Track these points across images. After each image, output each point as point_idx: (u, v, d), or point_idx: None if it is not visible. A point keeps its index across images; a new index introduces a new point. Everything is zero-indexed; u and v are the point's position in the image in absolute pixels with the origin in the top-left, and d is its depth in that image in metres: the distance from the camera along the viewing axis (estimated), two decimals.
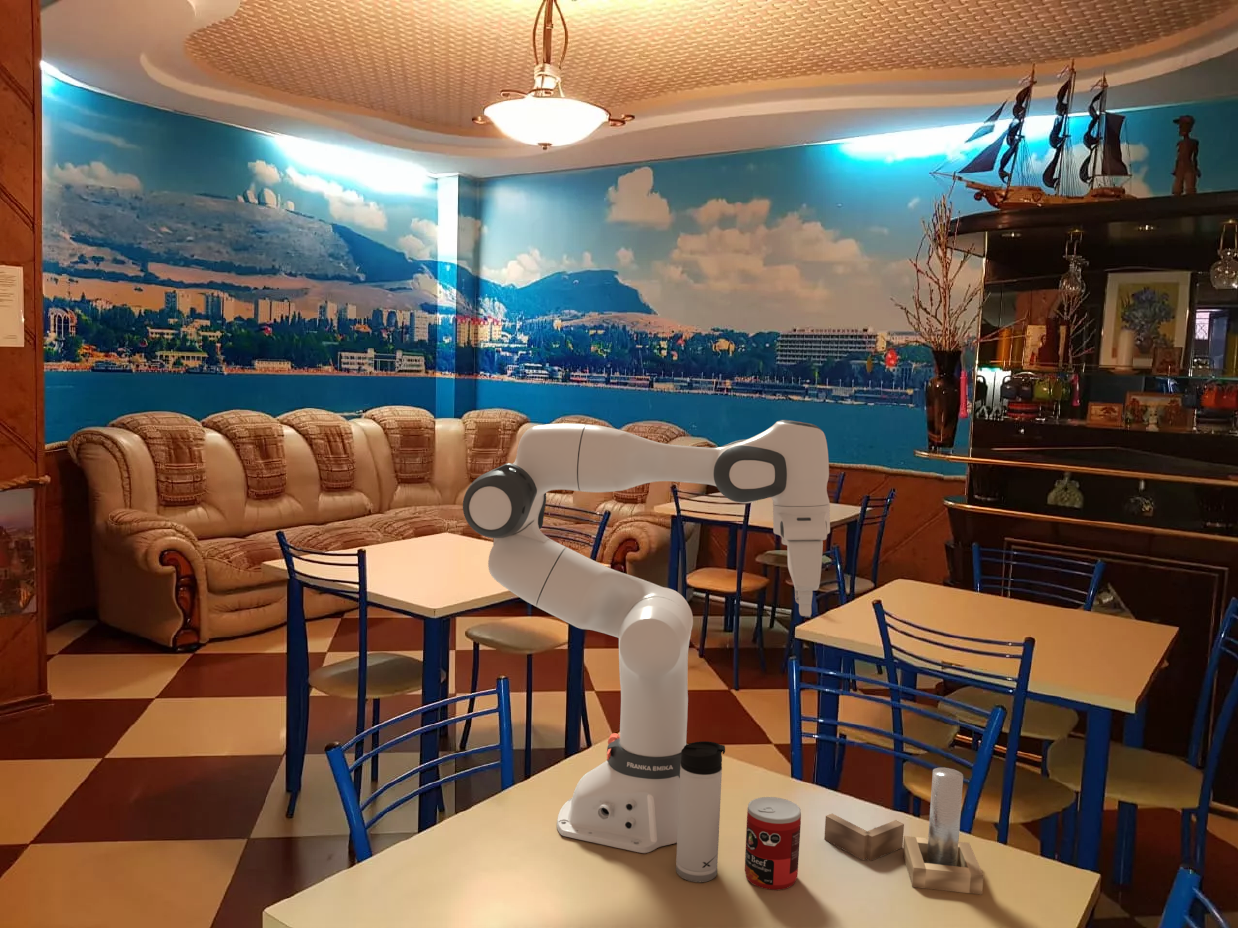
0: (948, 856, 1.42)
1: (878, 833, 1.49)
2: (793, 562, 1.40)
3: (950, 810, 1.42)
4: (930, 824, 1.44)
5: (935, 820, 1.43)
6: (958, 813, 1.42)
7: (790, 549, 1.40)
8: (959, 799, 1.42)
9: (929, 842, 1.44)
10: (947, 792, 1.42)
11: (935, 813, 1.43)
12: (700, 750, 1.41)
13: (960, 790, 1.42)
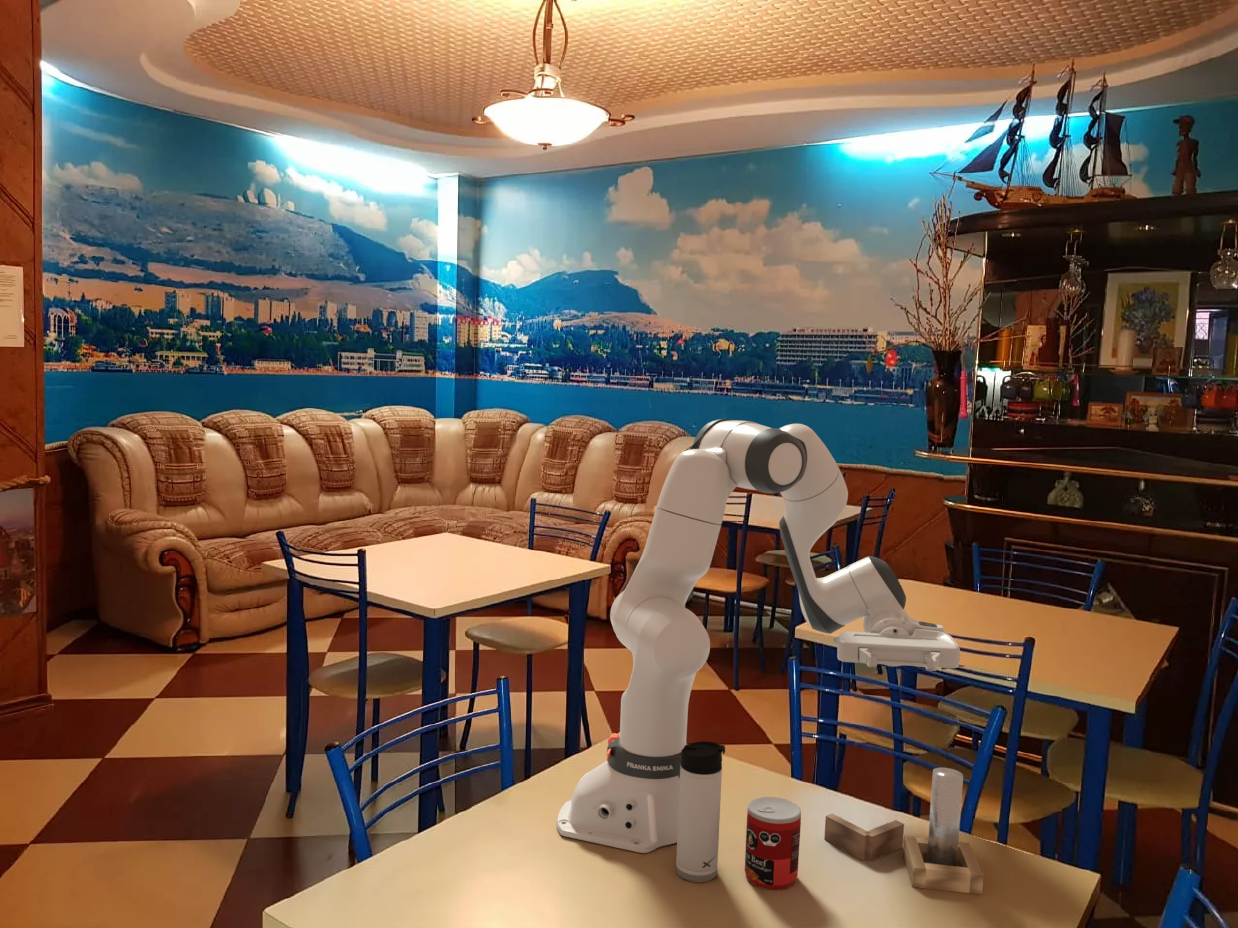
0: (948, 856, 1.42)
1: (878, 833, 1.49)
2: (954, 640, 1.61)
3: (950, 810, 1.42)
4: (930, 824, 1.44)
5: (935, 820, 1.43)
6: (958, 813, 1.42)
7: (949, 635, 1.63)
8: (959, 799, 1.42)
9: (929, 842, 1.44)
10: (947, 792, 1.42)
11: (935, 813, 1.43)
12: (700, 750, 1.41)
13: (960, 790, 1.42)
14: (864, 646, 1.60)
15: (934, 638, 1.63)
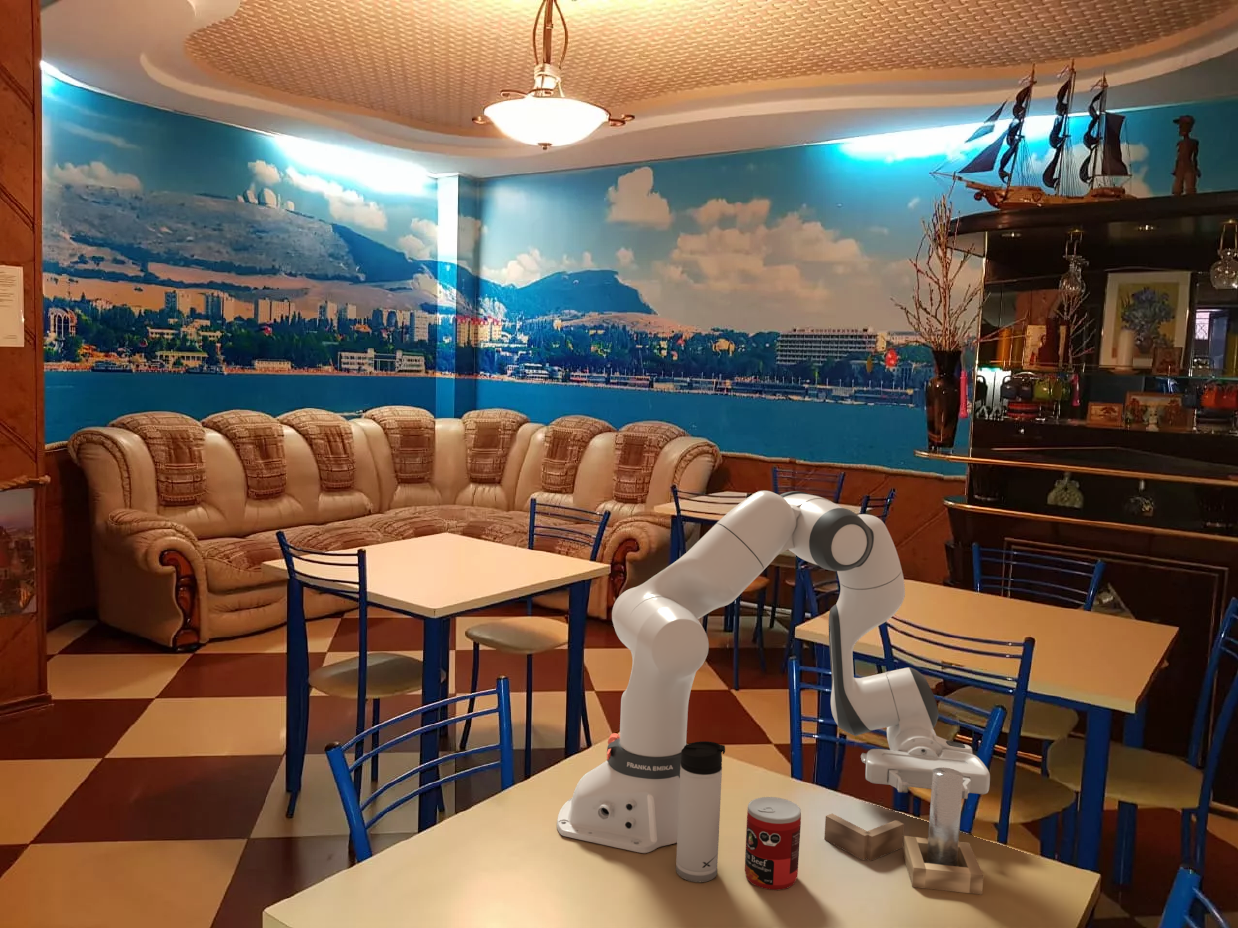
0: (948, 856, 1.42)
1: (878, 833, 1.49)
2: (983, 763, 1.61)
3: (950, 810, 1.42)
4: (930, 824, 1.44)
5: (935, 820, 1.43)
6: (958, 813, 1.42)
7: (977, 757, 1.63)
8: (959, 799, 1.42)
9: (929, 842, 1.44)
10: (947, 792, 1.42)
11: (935, 813, 1.43)
12: (700, 750, 1.41)
13: (960, 790, 1.42)
14: (894, 768, 1.59)
15: (963, 760, 1.62)
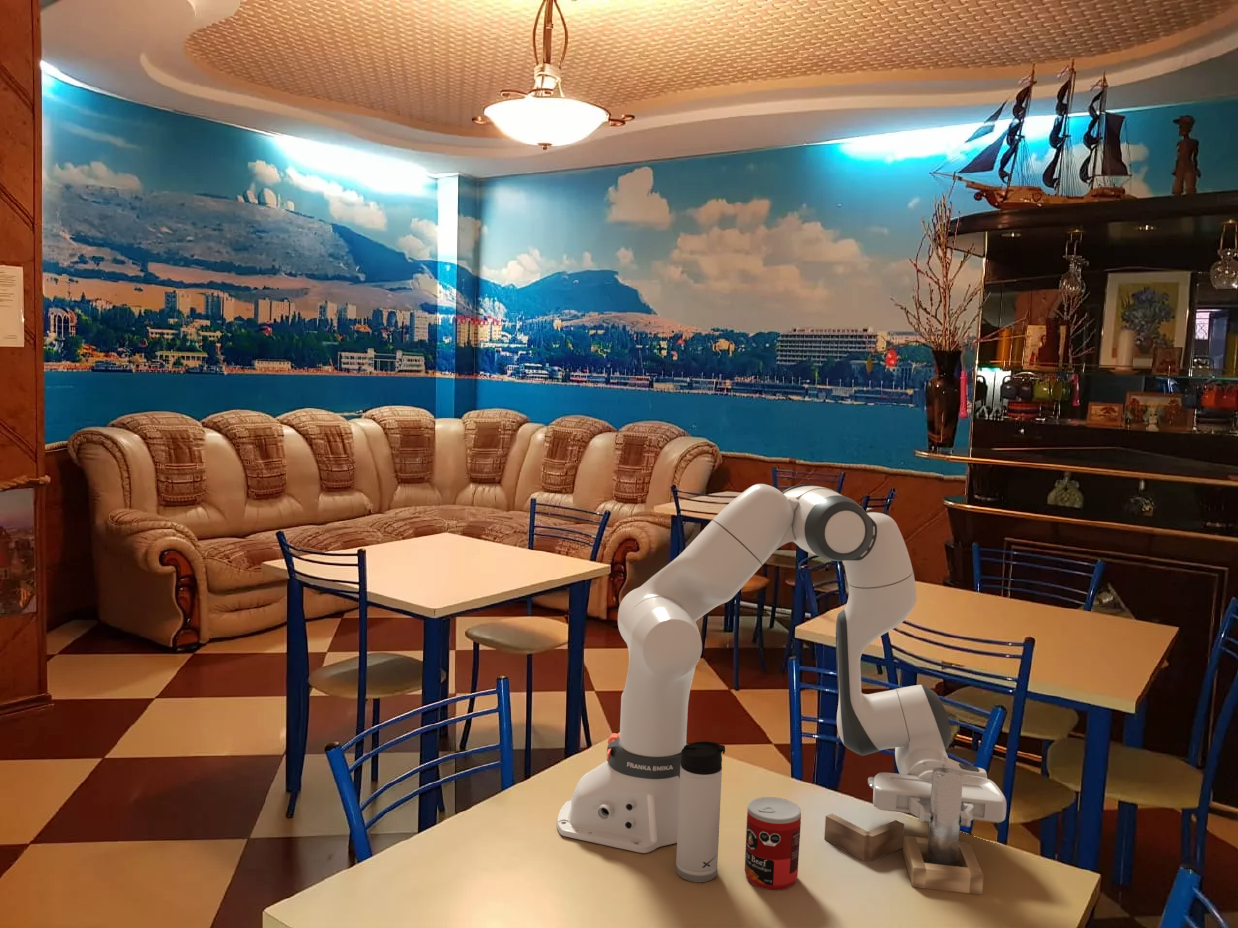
0: (948, 856, 1.42)
1: (878, 833, 1.49)
2: (999, 789, 1.50)
3: (950, 810, 1.42)
4: (930, 824, 1.44)
5: (935, 820, 1.43)
6: (958, 813, 1.42)
7: (992, 781, 1.52)
8: (959, 799, 1.42)
9: (929, 842, 1.44)
10: (947, 792, 1.42)
11: (935, 812, 1.43)
12: (700, 750, 1.41)
13: (960, 790, 1.42)
14: (903, 794, 1.49)
15: (977, 785, 1.52)
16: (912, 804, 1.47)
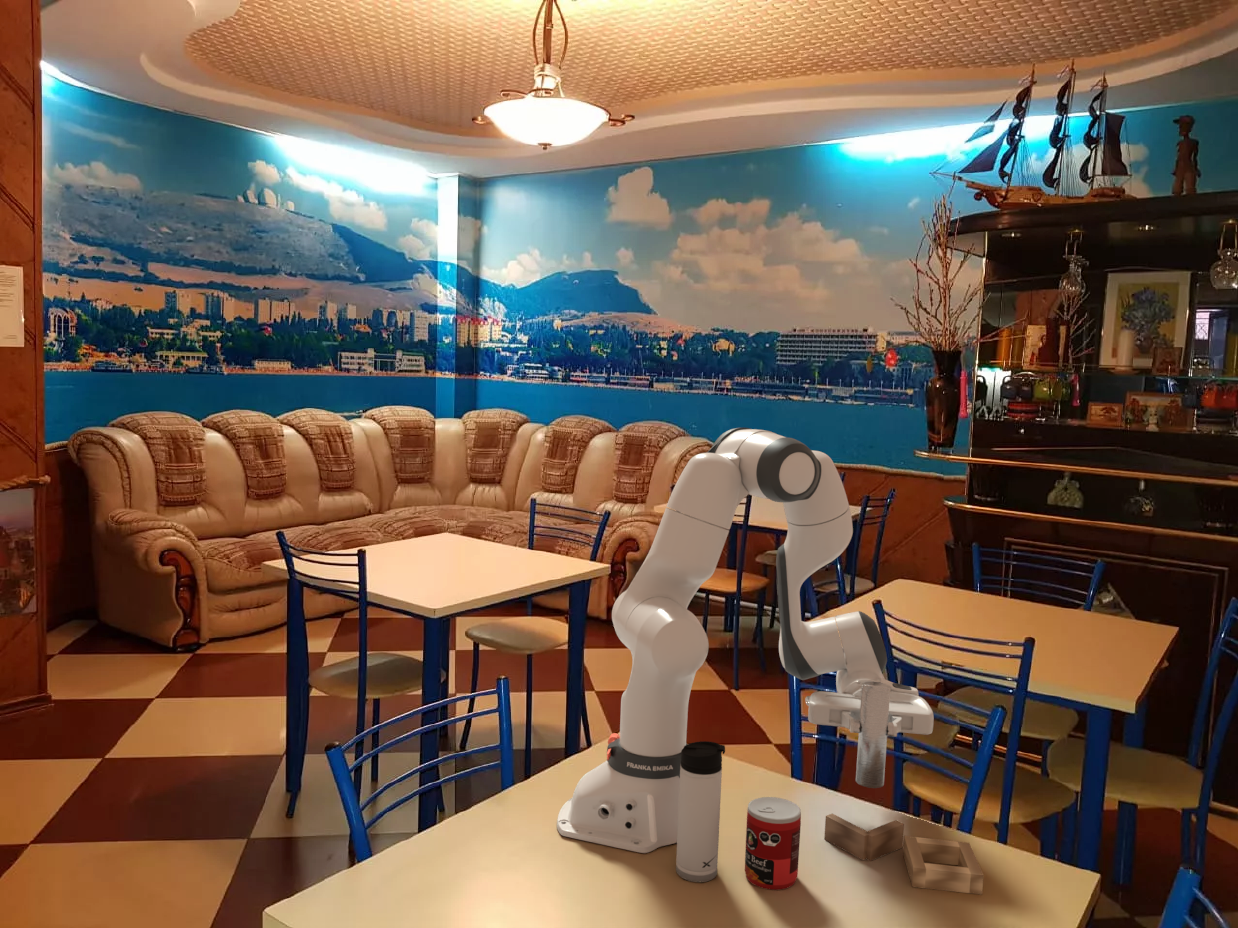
0: (875, 764, 1.49)
1: (878, 833, 1.49)
2: (928, 705, 1.57)
3: (877, 719, 1.49)
4: (859, 734, 1.51)
5: (863, 730, 1.50)
6: (885, 723, 1.49)
7: None
8: (886, 710, 1.49)
9: (858, 752, 1.51)
10: (874, 703, 1.48)
11: (863, 723, 1.50)
12: (700, 750, 1.41)
13: (887, 701, 1.49)
14: (836, 708, 1.55)
15: (908, 702, 1.59)
16: (843, 717, 1.54)
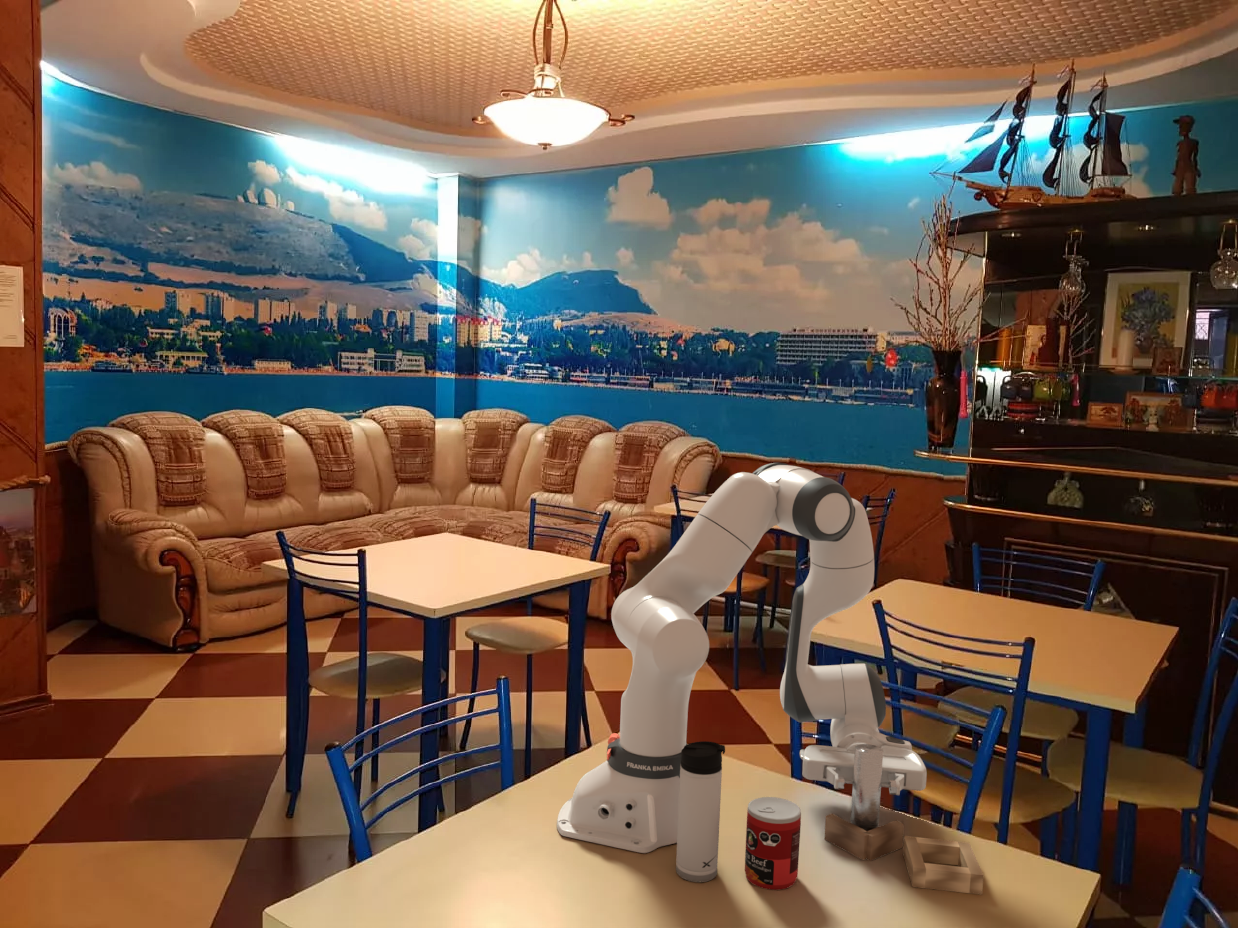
0: (868, 827, 1.51)
1: (878, 833, 1.49)
2: (921, 760, 1.59)
3: (870, 783, 1.50)
4: (852, 797, 1.52)
5: (856, 793, 1.51)
6: (878, 787, 1.51)
7: (916, 753, 1.61)
8: (879, 773, 1.50)
9: (852, 814, 1.53)
10: (867, 767, 1.50)
11: (856, 786, 1.51)
12: (700, 750, 1.41)
13: (880, 765, 1.50)
14: (830, 764, 1.57)
15: (901, 756, 1.60)
16: (828, 772, 1.55)
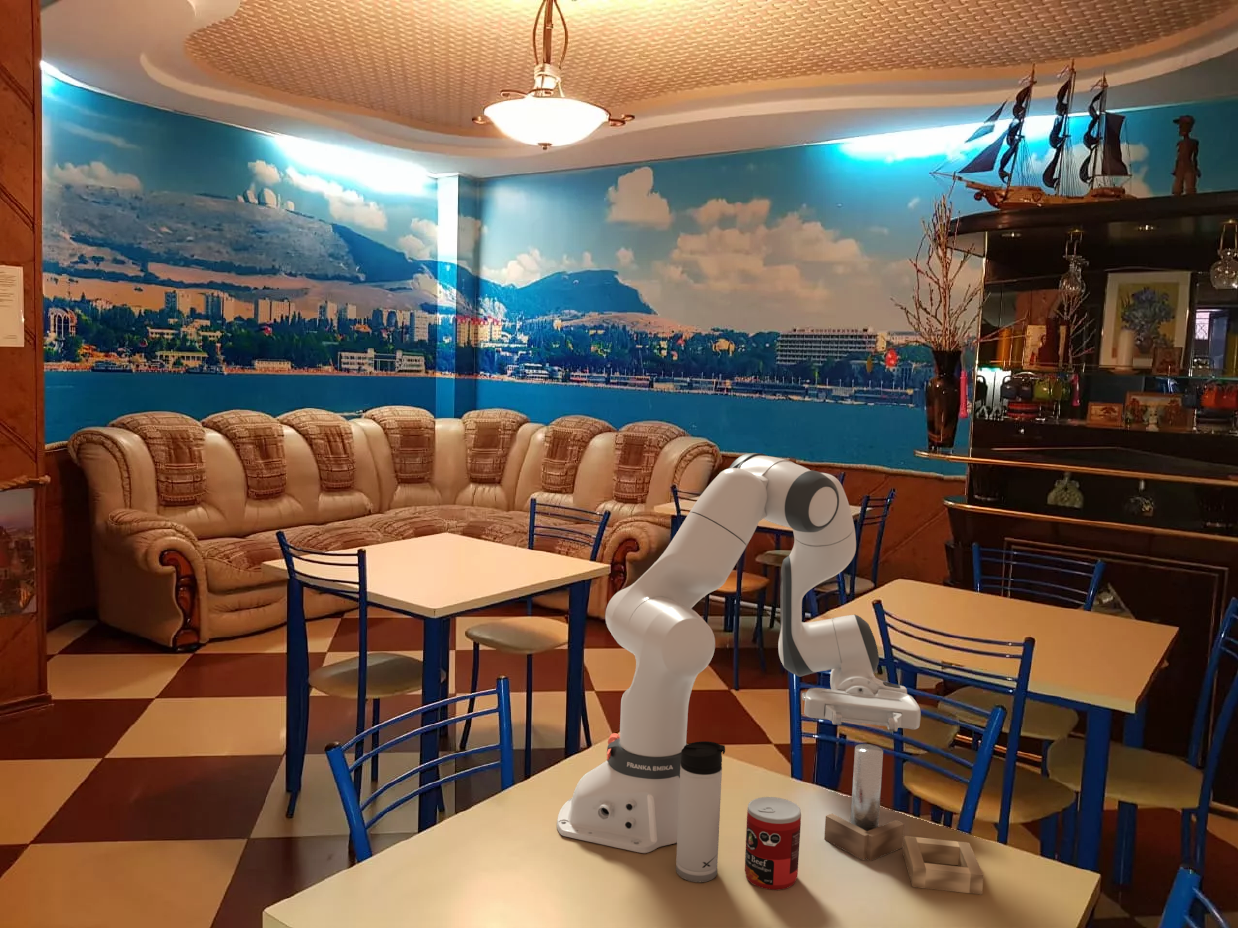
0: (868, 827, 1.51)
1: (878, 833, 1.49)
2: (916, 702, 1.69)
3: (870, 783, 1.50)
4: (852, 797, 1.52)
5: (856, 793, 1.51)
6: (878, 787, 1.51)
7: None
8: (879, 773, 1.50)
9: (852, 814, 1.53)
10: (867, 767, 1.50)
11: (856, 786, 1.51)
12: (700, 750, 1.41)
13: (880, 765, 1.50)
14: (830, 703, 1.68)
15: (897, 699, 1.71)
16: (827, 710, 1.66)
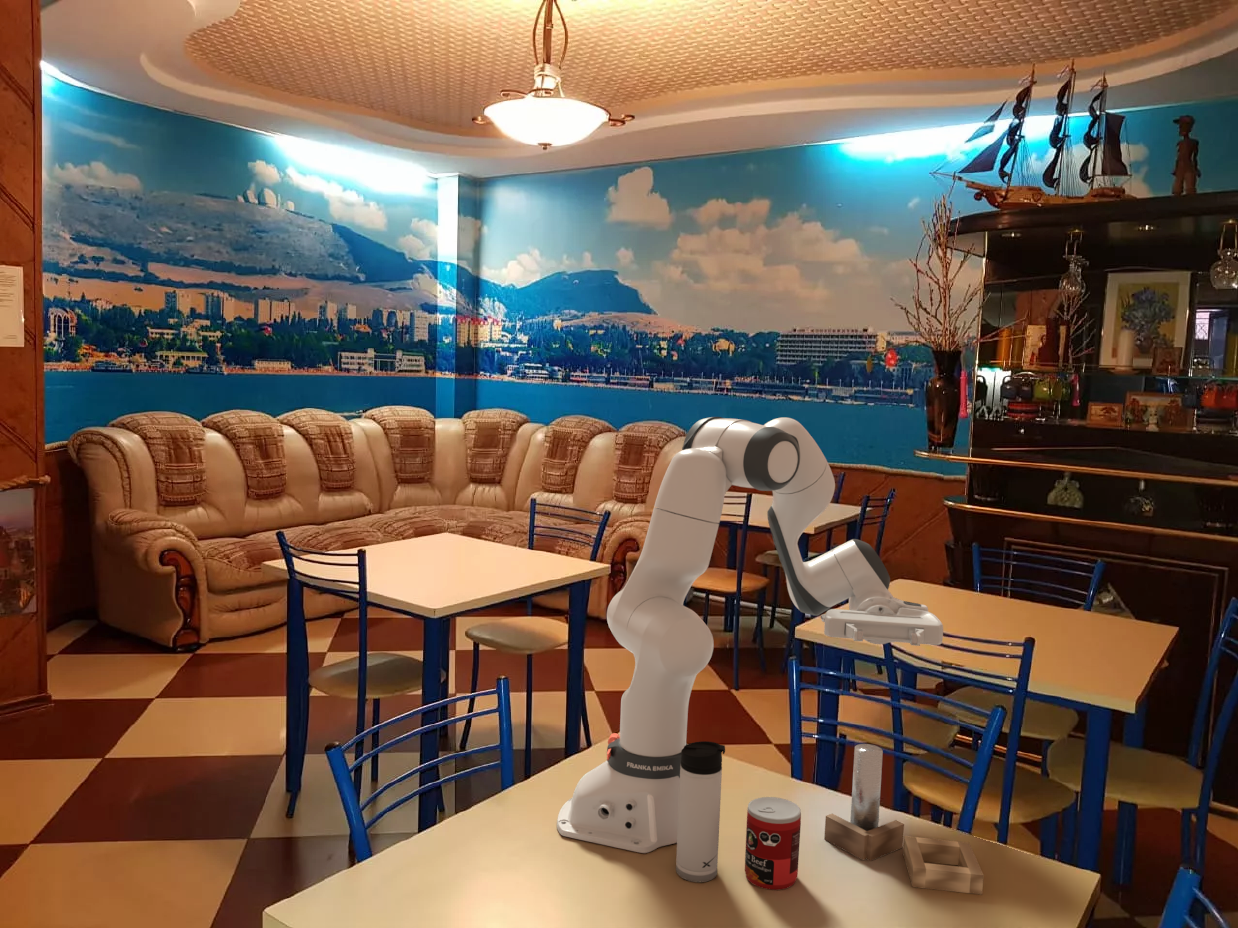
0: (868, 827, 1.51)
1: (878, 833, 1.49)
2: None
3: (870, 783, 1.50)
4: (852, 797, 1.53)
5: (856, 793, 1.51)
6: (878, 786, 1.51)
7: (932, 614, 1.68)
8: (878, 773, 1.51)
9: (851, 814, 1.53)
10: (867, 767, 1.50)
11: (856, 786, 1.51)
12: (700, 750, 1.41)
13: (879, 764, 1.50)
14: (850, 622, 1.64)
15: (918, 616, 1.68)
16: (847, 628, 1.63)
